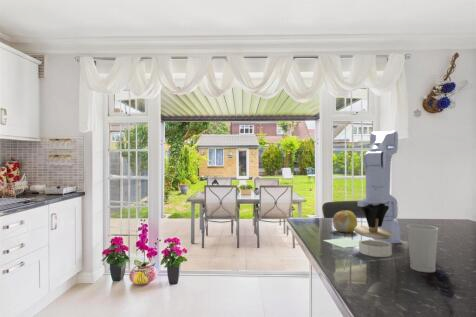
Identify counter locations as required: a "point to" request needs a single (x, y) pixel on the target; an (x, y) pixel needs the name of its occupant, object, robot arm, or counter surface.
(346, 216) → the fruit
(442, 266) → the counter surface
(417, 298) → the counter surface
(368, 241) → the bowl
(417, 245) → the cup
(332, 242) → the mat
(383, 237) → the lid
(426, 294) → the counter surface
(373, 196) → the robot arm
